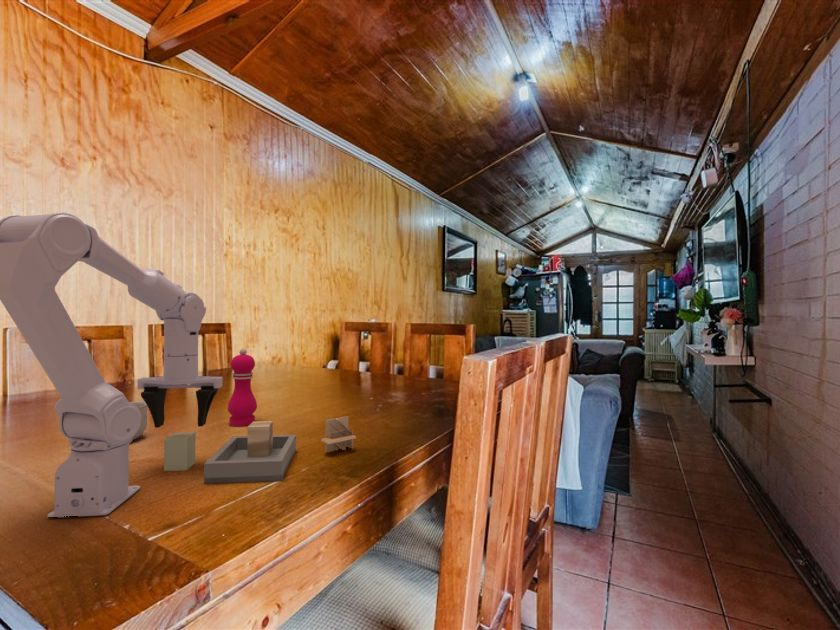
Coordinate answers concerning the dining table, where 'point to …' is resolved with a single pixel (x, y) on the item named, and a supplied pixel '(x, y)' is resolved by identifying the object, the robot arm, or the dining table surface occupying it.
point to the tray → (249, 461)
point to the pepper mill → (242, 391)
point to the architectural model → (338, 434)
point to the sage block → (179, 451)
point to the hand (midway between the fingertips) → (180, 425)
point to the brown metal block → (260, 439)
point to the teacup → (143, 410)
